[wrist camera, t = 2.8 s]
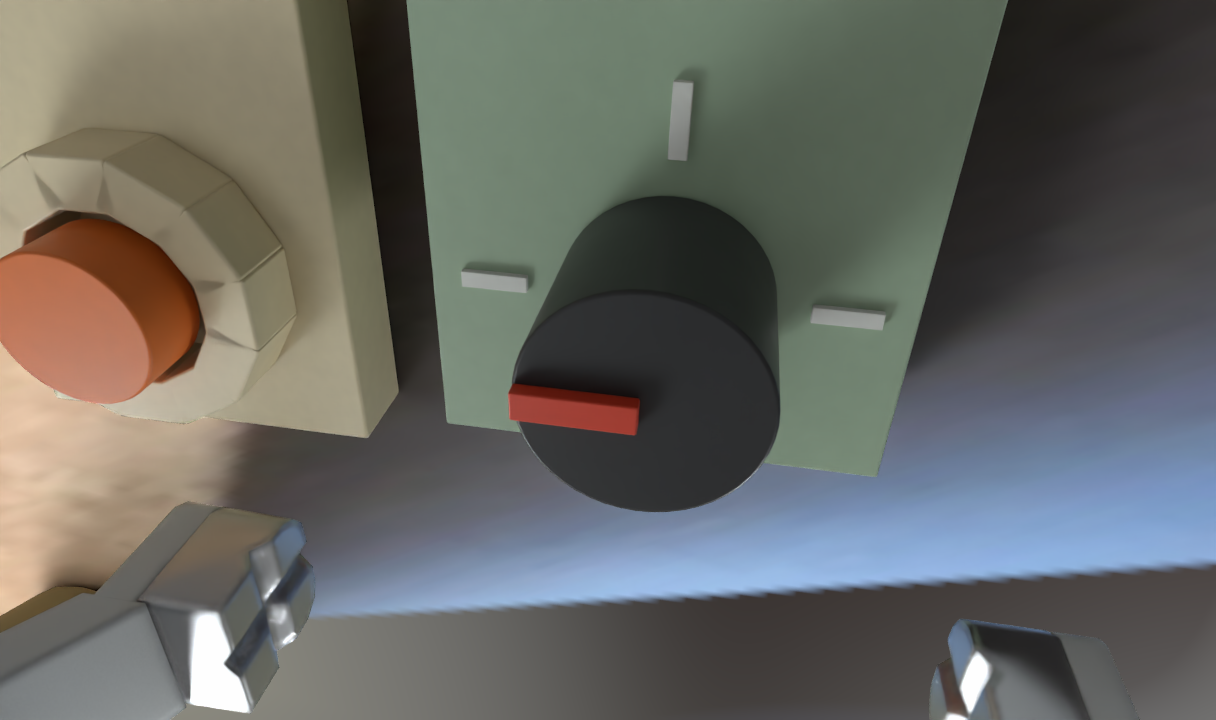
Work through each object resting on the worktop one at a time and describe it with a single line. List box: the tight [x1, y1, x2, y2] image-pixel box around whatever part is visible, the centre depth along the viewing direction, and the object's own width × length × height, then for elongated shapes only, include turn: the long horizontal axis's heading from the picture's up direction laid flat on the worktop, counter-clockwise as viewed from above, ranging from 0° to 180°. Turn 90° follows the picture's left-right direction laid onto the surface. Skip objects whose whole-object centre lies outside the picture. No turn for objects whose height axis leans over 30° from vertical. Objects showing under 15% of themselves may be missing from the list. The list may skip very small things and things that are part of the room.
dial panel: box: [406, 0, 1008, 477], centre depth 17 cm, size 12×10×3 cm
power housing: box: [0, 0, 399, 438], centre depth 19 cm, size 11×9×4 cm
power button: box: [0, 219, 200, 404], centre depth 17 cm, size 4×4×2 cm
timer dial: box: [508, 196, 781, 512], centre depth 15 cm, size 4×4×4 cm
